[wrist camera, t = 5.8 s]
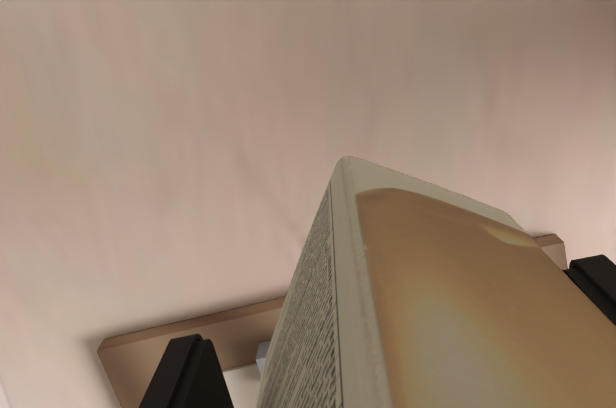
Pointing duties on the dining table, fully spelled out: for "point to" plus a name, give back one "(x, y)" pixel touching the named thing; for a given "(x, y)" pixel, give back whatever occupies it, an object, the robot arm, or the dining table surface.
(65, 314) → the dining table surface
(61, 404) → the dining table surface
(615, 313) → the robot arm
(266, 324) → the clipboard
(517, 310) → the skincare box
